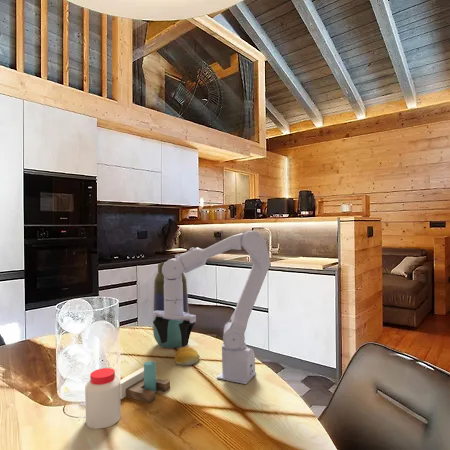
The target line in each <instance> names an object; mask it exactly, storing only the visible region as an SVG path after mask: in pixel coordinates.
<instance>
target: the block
mask: <svg viewBox="0 0 450 450" xmlns="http://www.w3.org/2000/svg"><path fill="white" fill-rule="evenodd" d="M170 389H171V381H170V380H167V379H163V378H159V377H156V391H157V390H158V391H160V392H161V391H162V392H167V391H168V390H170ZM125 398H129V399H132V400H133V399H134V400H137V401H141V402H145V403H148V404H150V403H151V402H153V401H154V400H156V399H155V398H156V394H155V391H151V390H147V389H144V378H143V379H141V380H140V381H138V382H136V383H135V384H133V385H131V386H130V387H128V388H126V397H125Z"/></svg>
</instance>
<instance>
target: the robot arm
mask: <svg viewBox="0 0 450 450" xmlns="http://www.w3.org/2000/svg"><path fill="white" fill-rule="evenodd" d="M242 248H243V249H244V250H245V252H247V253H248V254H249V257H250V259H251V261H252V262H251V263H252V266H251V269H250V272H249V274H248V276H247V279H246V282H245V284H244V286H243V289H242V291H241V294H240V297H239V299H238V302H237V304H236V306H235V309H234V311H233V312H232V314H231V317H230V319H229V320H228V321H227V322H225V324H224V325H223V336H222V342H223V343H222V344H221V358H222V359H221V365H222V366H221V367H222V370H221V371H222V372H220V373H219V374H218V375H217V376H216V378H217V380H218V379H219V380H224V381H228V382H233V383H238V384H243V385H247V384H248V383H249V382H250V381H251V380H252V378H254V376H255V375H257V371H256V356H255V355H256V353H255V350H254V349H252V348H250V347H248V346H247V345H246V342H245V339H246V338H245V332H246V330H247V325H248V322H249V319H250V316H251V314H252V310H253V308H254V307H255V303H256V301H257V298H258V297H259V293H260V290H261V289H262V287H263V283H264V281H265V279H266V277H267V274H268V271H269V269H270V266H271V261H270V256H269V255H270V254H269V251H268V245H267V242H266V240H265V238H264V237H263V236H262V233H260V232H259V231H255V230H247V231H245V232H244V233H243V232H241V233H238V234H234V235H231V236H229V237H227V238H225V239H222V240H219V241H218V242H216V243H214V244H212V245H210V246H208V247H206V248H200V247H198V246H197V247H190V248H189V249H188V251H186V252H184V253H181V254H176V255H174V258H169V259H167V260H166V261H165V262H163V263H164V264H163V266H162V273H163V275H164V311H154V312H153V311H152V319H153V318H156V319H155V320H154V321H153V320H152V325H153V324H154V325H155V327H156V329H157V331H158V333H159V336H160V340H161V343H165V342H167V330H168V323H169V319H170V320H178V321H183V322H182V323H180V324H179V328H180V331H181V342H182V345H181V347H182V348H184V347H188V345H189V341H190V340H189V339H190V336H191V333H192V330H193V328H194V326H195V324H196V322H197V316H196V314H191V313H190V312H189V313H185V312H184V311H183V283H182V275H181V274H182V273H184V274H187V273H189V272H192V271H194V270H196V269H199V268H201V267H204V266H205V265H206V262H207V260H208V259H210V258H212V257H215V256H217V255H220V254H222V253H225V252H227V251H231V250H236V251H237V250H239V251H241V250H242Z"/></svg>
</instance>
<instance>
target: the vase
mask: <svg viewBox="0 0 450 450" xmlns="http://www.w3.org/2000/svg"><path fill="white" fill-rule="evenodd" d="M164 263H165V262H160V263H158V264H157V273H156V276H155V278H154V282H153V305H152V313H153V312H154V311H164V275H163V273H162V266H163V264H164ZM181 275H182V283H183V311H184V312H185V313H189V314H190V312H189V310H190V309H189V298H188V297H189V295H188V285H187V283H188V281H187V277H186V275H185V273H182V274H181ZM155 319H156V318H153V317H152V322H153V321H154V320H155ZM182 322H183V321H178V320H170V319H169V323H168V330H167V342H165V343H161V340H160V336H159V333H158V331H157V329H156V327H155V325H154V324H153V323H152V333H153V338H154V341H155V342H156V343H157V345H158V346H160V347H162V348H165V349H175V348H178V347H182V342H181V331H180V328H179V324H180V323H182Z"/></svg>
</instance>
